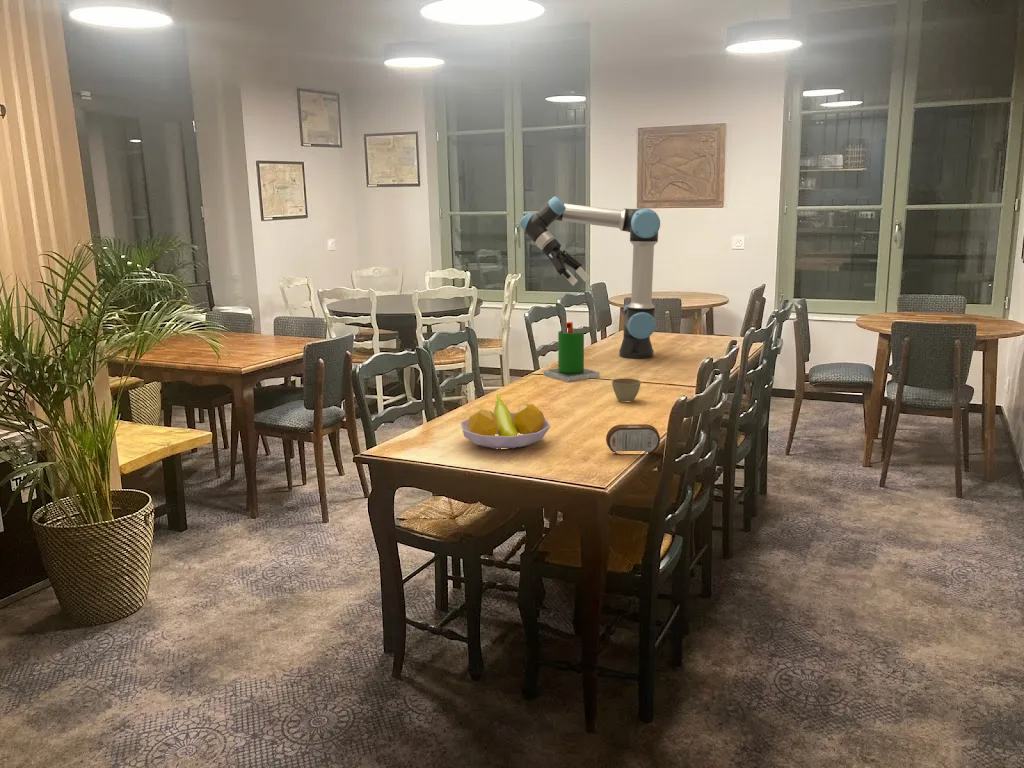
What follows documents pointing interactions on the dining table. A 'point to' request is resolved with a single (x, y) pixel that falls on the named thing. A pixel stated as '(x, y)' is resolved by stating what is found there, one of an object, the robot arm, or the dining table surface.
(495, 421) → the fruit bowl
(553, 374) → the grey flat square slab
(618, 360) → the dining table surface
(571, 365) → the green cylindrical container
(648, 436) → the tin
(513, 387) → the dining table surface
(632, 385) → the flower pot
